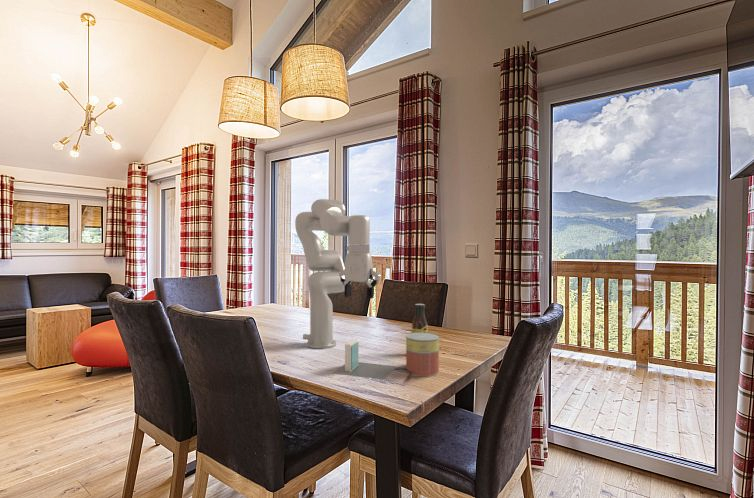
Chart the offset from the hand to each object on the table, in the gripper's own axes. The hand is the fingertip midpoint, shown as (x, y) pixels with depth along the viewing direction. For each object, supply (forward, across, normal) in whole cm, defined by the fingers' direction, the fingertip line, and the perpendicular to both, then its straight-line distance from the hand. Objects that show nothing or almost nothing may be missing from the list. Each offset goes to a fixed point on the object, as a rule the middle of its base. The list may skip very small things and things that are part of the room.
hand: (359, 297), depth 138 cm
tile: (+23, +1, -7) cm, 24 cm away
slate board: (+24, +6, -6) cm, 26 cm away
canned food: (+25, +22, +6) cm, 34 cm away
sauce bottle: (+25, +13, +24) cm, 37 cm away
